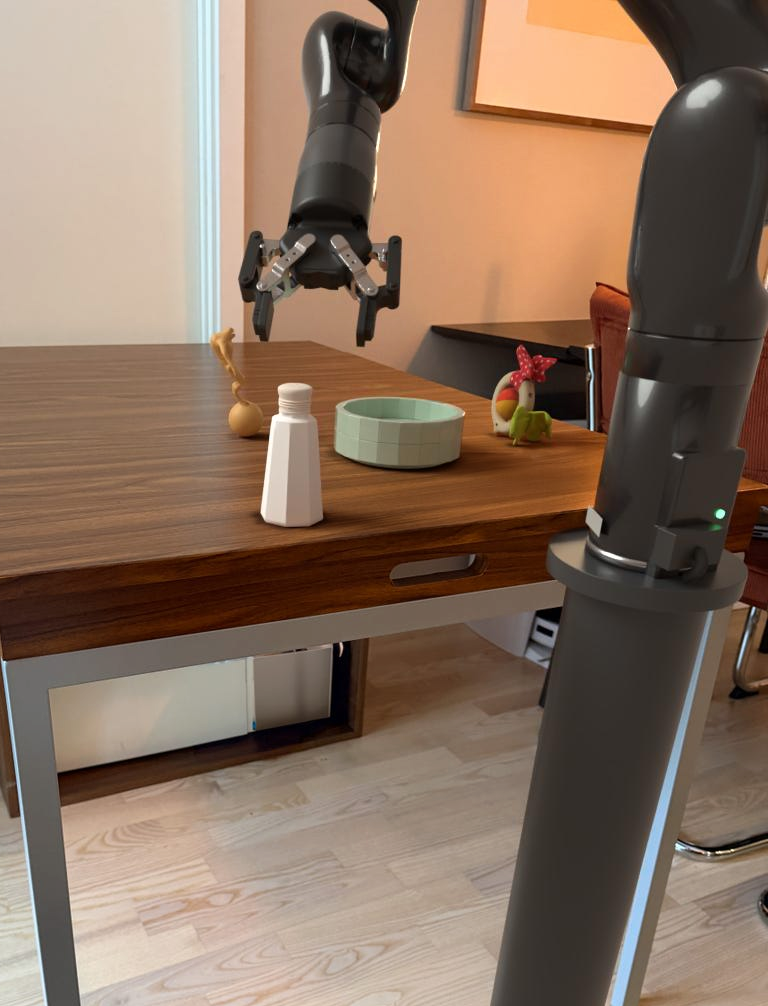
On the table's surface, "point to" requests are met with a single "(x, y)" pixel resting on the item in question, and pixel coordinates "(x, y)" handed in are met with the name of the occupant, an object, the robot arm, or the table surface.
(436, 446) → the bowl
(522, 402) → the bird rattle
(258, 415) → the figurine
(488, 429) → the table surface
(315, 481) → the pepper shaker
